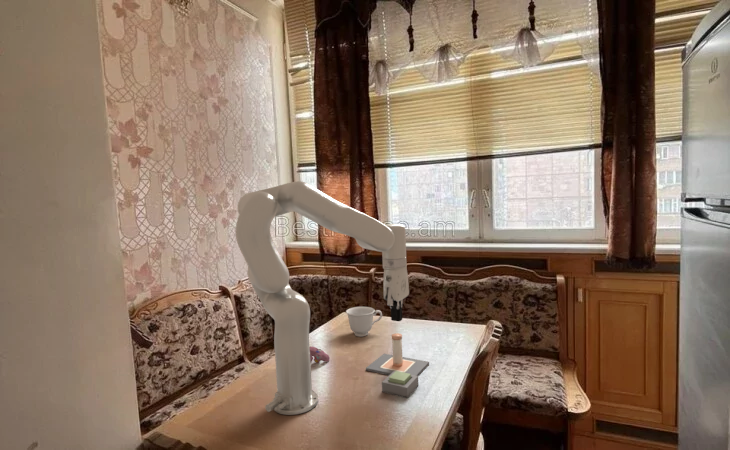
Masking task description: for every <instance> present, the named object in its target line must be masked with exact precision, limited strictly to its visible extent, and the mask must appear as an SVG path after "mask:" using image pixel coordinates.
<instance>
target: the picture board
mask: <svg viewBox="0 0 730 450" xmlns="http://www.w3.org/2000/svg"><path fill="white" fill-rule="evenodd" d="M402 359H403V365H402V366H400V367H396V366H393V354H389V353H383V354H382V355H380V356H379V357H377V358H376V359H375V360H374V361H372V362H371V363H370V364H369V365H368V366H367V367H365V371H368V372H373V373H377V374H381V375H386V376H389V375H390V374H391V373H392V372H393V371H399V372H404V373H409V374H411V375H415V376H418V377H419V376H420V375H421V374H422V373H423V371H424V370H425V369H426V368H428V366H429V365H430V361H426V360H421V359H416V358H410V357H405V356H402Z"/></svg>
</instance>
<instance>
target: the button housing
mask: <svg viewBox="0 0 730 450" xmlns="http://www.w3.org/2000/svg"><path fill="white" fill-rule="evenodd" d="M394 372H396V371H393V372H392V373H391V374H390V375H387V377H385V378H384V379H383V381H381V392H382V393H385V394H388V395H391V396H397V397H401V398H406V399H409V397H410V396H411V395H412V394H413V393H414V391H415V390H417V388H418V387H419V376H415V375H411V379H410V380H409V381H408V382H407V383H406V385H402V384H398V383H393V382H389V377H390V376H391V375H392V374H393V373H394Z"/></svg>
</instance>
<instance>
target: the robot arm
mask: <svg viewBox="0 0 730 450" xmlns="http://www.w3.org/2000/svg"><path fill="white" fill-rule="evenodd" d="M237 212H238V217H237V220H236V225H235V237H236V238H235V239H236V242H237V246H238V248H239V250H240V252H241V254H242V256H243V258H244V260H245V262H246V264H247V270H246V273H247V277H248V281H249V282H250V284H251V286H252V289H253V290H254V292H255V294H256V295H257V297H258V299H259V301H260V302H261V305H262V306H263V308H264V309H265V312H266V313H267V314H268V315H269V316H270V317H271V318H272V319H273V320H274V335H273V340H274V341H273V344H274V345H273V347H274V355H275V356H274V357H275V358H274V359H275V374H276V375H275V376H276V389H277V391H276V392H275V393H274V398H272V401H270V402H269V403H266V404H265V411H266V412H267V413H270V412H272V411H274V412H275V413H278V414H280V415H284V416H285V415H286V416H294V415H299V414H304V413H307V412H308V411H311V410H312V409H313V408H315V407H316V405H317V404H318V403H319V395H318V394H317V392H316V391H313V387H312V386H313V385H312V384H313V383H312V365H311V363H312V362H310V347H311V346H310V320H311V308H310V305H309V303H308V300H307V299H306V298H305V297H304V296H303V295H302V294H300V293H299V292H297V291H296V290H294V289H292V287H291V285H290V283H289V282H290V272H289V269H288V266H287V265H286V263H285V261H284V260H283V258H282V256H281V254H280V253H279V251H278V248H277V247H276V245H275V242H274V240H273V238H272V236H271V226H272V222H273V220H274V218H275V217H278V216H282V215H284V214H288V213H291V212H293V213H294V212H295V213H296V214H299V215H300V216H302V217H304V218H307V219H308V220H310V221H312V222H314V223H315V224H318V225H319V226H321V227H323V228H325V229H326V230H329V231H332V232H334V233H337V234H341V235H346V236H349V237H351V238H353V239H355V241H356V243H357V245H358V246H359V247H361V248H362V249H364V250H365V249H366V250H369V251H376V252H380V253H381V254H382V256H381V257H382V269H383V280H382V281H383V284H382V285H383V289H382V290H383V299H384V300H385V301H386V304H387V307H388V306H389V308H390V320H391V321H393V322H401V321H402V320H403V300H404V299H405V298H407V297H408V296H409V294H410V288H409V287H410V286H409V274H408V269H407V268H408V267H407V266H408V265H407V241H406V240H407V237H406V227H405V225H403V224H401V223H387V224H384V223H382V222H381V221H379V220H377V219H376V218H374V217H372V216H370V215H367V214H366V213H364V212H361V211H360V210H357V209H355V208H353V207H351V206H349V205H347V204H344V203H342V202H340V201H338V200H336V199H335V198H333V197H331V196H330V195H328V194H326V193H324V192H323V191H322V190H319V189H318V188H316V187H315V186H313V185H311V184H309V183H307V182H305V181H301V180H300V181H291V182H287V183H283V184H281V185H277V186H273V187H269V188H264V189H259V190H257V191H256V190H255V191H251V192H248V193H246V194H244V195H242V197H240V199H239V201H238V202H237Z"/></svg>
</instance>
